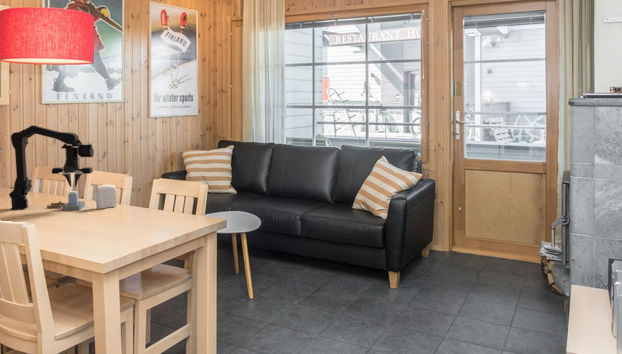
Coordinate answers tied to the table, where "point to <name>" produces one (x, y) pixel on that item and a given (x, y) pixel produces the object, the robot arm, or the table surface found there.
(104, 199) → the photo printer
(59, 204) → the holster
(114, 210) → the table surface
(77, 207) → the port
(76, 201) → the plug
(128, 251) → the table surface
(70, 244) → the table surface
